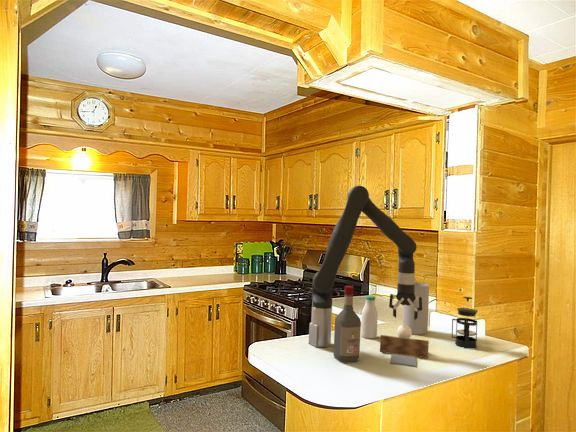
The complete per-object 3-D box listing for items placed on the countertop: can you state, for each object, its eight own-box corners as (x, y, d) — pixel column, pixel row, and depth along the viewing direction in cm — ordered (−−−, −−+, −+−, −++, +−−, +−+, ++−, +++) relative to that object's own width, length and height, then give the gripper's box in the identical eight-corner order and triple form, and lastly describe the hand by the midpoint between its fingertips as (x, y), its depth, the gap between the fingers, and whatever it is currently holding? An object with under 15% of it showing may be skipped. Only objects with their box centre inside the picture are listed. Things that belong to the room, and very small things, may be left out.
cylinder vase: (424, 329, 215) (426, 282, 215) (429, 336, 203) (431, 286, 203) (400, 327, 217) (402, 281, 217) (404, 334, 205) (406, 285, 205)
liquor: (361, 361, 163) (364, 288, 163) (341, 364, 160) (344, 288, 160) (350, 354, 172) (353, 284, 172) (331, 356, 168) (334, 284, 168)
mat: (390, 363, 162) (390, 362, 162) (391, 355, 172) (391, 354, 172) (416, 367, 160) (416, 365, 159) (415, 358, 169) (415, 357, 169)
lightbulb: (394, 346, 184) (395, 322, 184) (407, 346, 184) (408, 323, 184) (399, 351, 178) (400, 326, 178) (413, 351, 178) (414, 327, 178)
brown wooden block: (379, 352, 175) (380, 336, 175) (380, 349, 180) (381, 333, 180) (428, 359, 169) (428, 342, 169) (427, 355, 174) (428, 339, 174)
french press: (477, 344, 193) (479, 296, 192) (479, 350, 184) (481, 300, 184) (451, 340, 197) (453, 293, 197) (451, 346, 188) (453, 297, 188)
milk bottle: (376, 339, 194) (378, 298, 194) (360, 338, 195) (362, 297, 195) (376, 335, 201) (378, 295, 201) (360, 333, 203) (362, 294, 203)
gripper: (389, 282, 179) (388, 318, 179) (423, 285, 175) (422, 322, 175) (390, 280, 187) (389, 315, 187) (422, 282, 183) (421, 318, 183)
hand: (405, 318), depth 181 cm, fingers open, 8 cm apart
